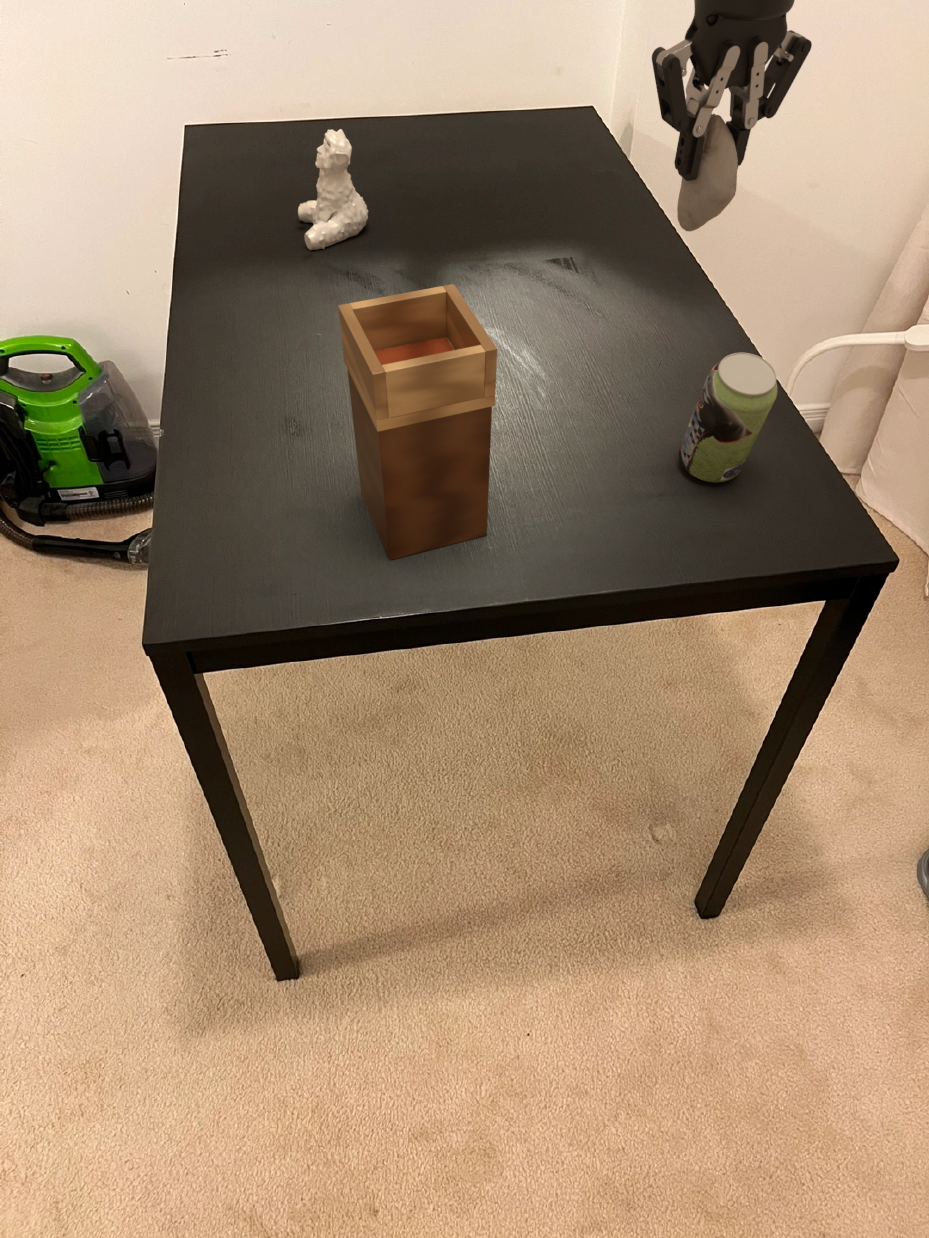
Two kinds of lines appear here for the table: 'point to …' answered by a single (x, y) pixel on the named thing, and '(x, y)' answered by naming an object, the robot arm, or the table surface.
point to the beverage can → (728, 417)
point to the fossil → (710, 178)
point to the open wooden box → (418, 356)
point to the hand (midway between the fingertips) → (706, 172)
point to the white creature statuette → (333, 196)
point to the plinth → (424, 478)
